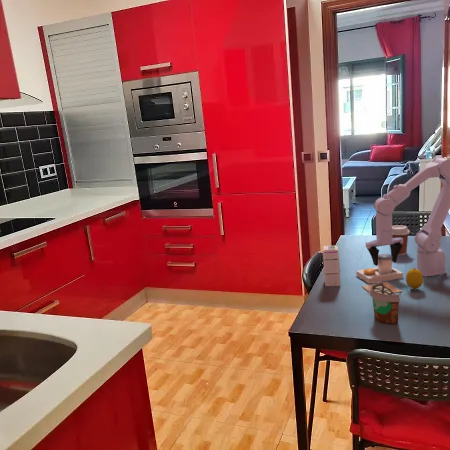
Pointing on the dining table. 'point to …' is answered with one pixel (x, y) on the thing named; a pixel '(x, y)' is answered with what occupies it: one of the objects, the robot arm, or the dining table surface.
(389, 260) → the cylinder
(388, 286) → the birch board
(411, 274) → the lemon
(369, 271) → the orange dome button
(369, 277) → the beige flat frame
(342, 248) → the dining table surface
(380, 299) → the food container
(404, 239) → the coffee cup
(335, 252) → the syrup box
